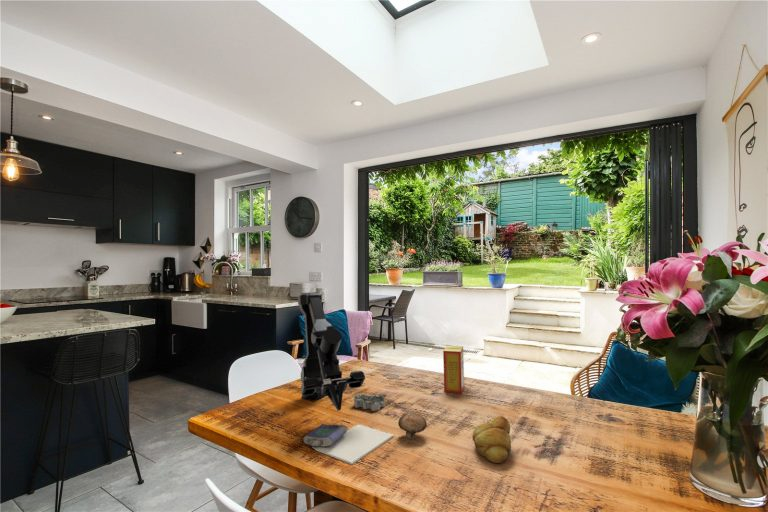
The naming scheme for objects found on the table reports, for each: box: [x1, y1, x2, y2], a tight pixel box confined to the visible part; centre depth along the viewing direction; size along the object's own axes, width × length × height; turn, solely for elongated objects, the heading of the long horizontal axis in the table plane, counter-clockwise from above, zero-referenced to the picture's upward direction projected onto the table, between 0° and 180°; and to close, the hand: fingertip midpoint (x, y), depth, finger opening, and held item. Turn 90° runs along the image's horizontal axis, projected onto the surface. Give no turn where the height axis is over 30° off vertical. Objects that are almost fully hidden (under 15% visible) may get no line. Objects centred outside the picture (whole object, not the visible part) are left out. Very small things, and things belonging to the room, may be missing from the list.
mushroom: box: [397, 412, 428, 440], centre depth 107 cm, size 8×8×6 cm
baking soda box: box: [442, 345, 465, 394], centre depth 147 cm, size 10×6×16 cm
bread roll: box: [472, 415, 512, 464], centre depth 97 cm, size 13×10×8 cm
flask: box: [303, 423, 348, 450], centre depth 104 cm, size 9×3×11 cm
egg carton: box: [352, 393, 387, 412], centre depth 131 cm, size 11×8×4 cm
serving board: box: [314, 424, 395, 465], centre depth 103 cm, size 13×18×1 cm
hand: (339, 409), depth 108 cm, fingers closed
